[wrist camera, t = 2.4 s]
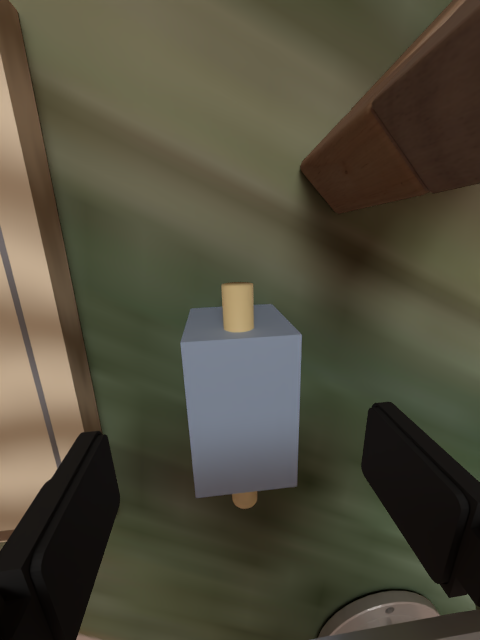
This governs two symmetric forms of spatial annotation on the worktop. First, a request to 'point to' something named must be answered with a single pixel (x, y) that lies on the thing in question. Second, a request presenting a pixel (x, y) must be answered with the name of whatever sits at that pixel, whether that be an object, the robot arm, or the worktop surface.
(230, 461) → the grey block on dowel
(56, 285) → the maple board
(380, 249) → the worktop surface
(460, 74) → the wooden block
